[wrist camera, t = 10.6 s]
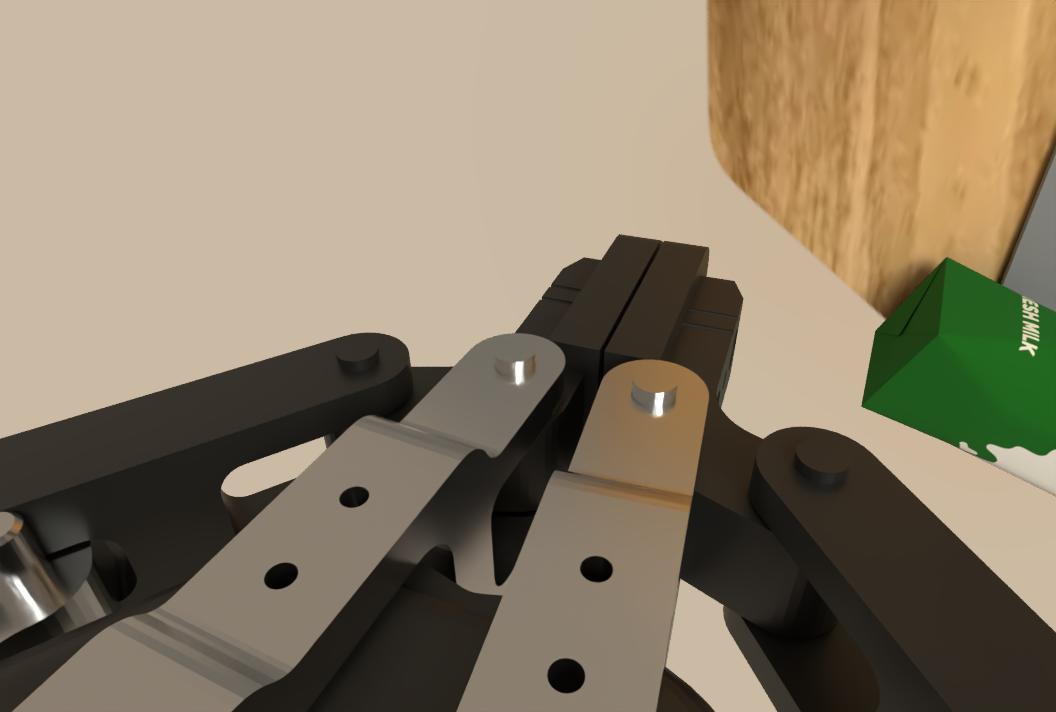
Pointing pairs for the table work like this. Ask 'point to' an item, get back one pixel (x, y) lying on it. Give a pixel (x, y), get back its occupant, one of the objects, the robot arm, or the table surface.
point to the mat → (1037, 246)
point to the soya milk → (971, 371)
